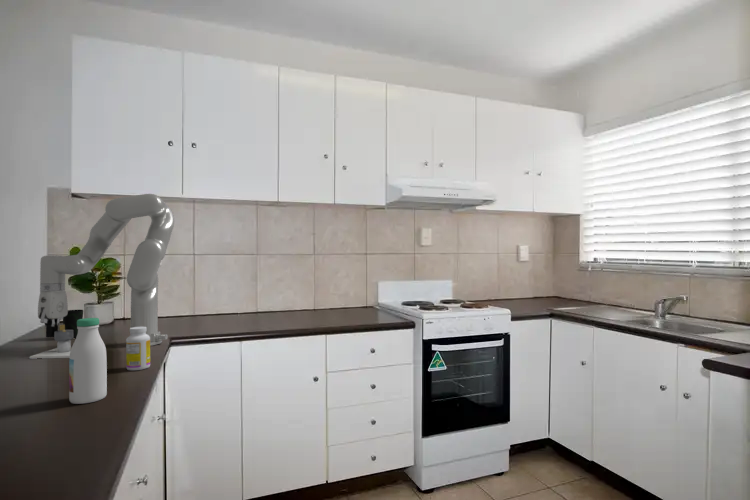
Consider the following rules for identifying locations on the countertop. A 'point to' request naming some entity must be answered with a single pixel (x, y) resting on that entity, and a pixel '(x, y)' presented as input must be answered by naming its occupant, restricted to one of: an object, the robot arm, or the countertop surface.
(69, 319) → the cup
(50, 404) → the countertop surface
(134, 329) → the supplement bottle
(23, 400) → the countertop surface
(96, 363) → the milk bottle
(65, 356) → the base plate
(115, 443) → the countertop surface
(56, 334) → the grey yellow elongated block
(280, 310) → the countertop surface
